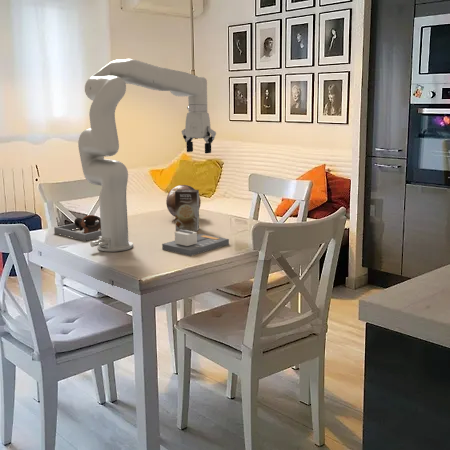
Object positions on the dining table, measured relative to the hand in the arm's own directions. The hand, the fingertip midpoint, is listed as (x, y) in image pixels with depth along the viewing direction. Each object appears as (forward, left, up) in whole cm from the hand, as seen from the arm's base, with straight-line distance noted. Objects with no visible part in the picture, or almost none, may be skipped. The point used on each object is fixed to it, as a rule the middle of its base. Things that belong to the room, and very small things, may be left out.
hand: (198, 152), depth 239 cm
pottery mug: (-36, +28, -31) cm, 55 cm away
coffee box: (-7, +1, -31) cm, 32 cm away
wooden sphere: (+7, +17, -31) cm, 36 cm away
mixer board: (-25, -21, -31) cm, 45 cm away
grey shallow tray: (-36, +28, -31) cm, 55 cm away
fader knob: (-30, -21, -28) cm, 46 cm away
